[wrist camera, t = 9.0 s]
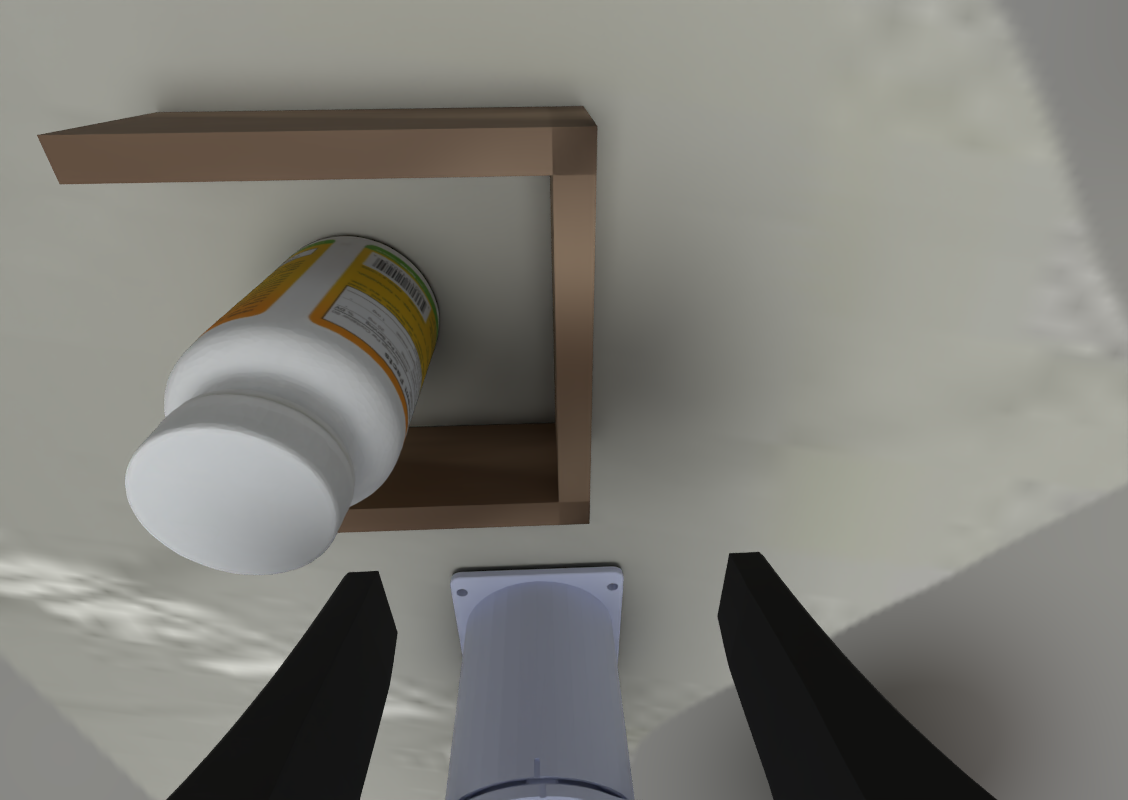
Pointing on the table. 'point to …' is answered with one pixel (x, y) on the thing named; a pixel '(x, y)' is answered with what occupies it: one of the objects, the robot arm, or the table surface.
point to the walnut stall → (412, 150)
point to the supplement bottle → (288, 410)
